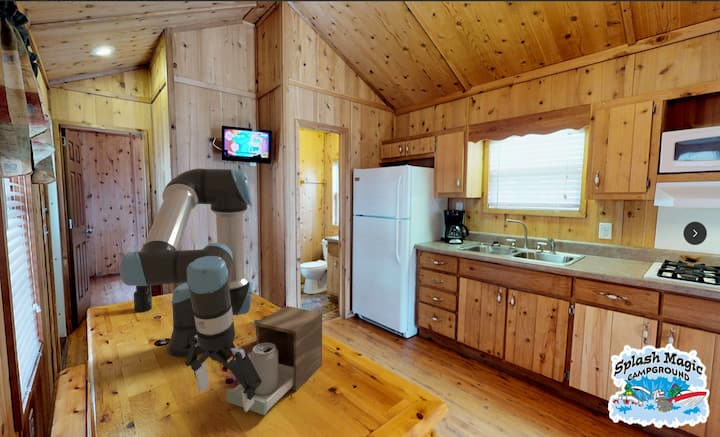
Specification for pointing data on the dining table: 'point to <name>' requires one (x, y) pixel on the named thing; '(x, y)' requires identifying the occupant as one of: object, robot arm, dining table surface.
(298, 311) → the housing
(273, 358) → the can
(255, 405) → the tray
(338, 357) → the dining table surface
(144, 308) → the supplement bottle
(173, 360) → the dining table surface
